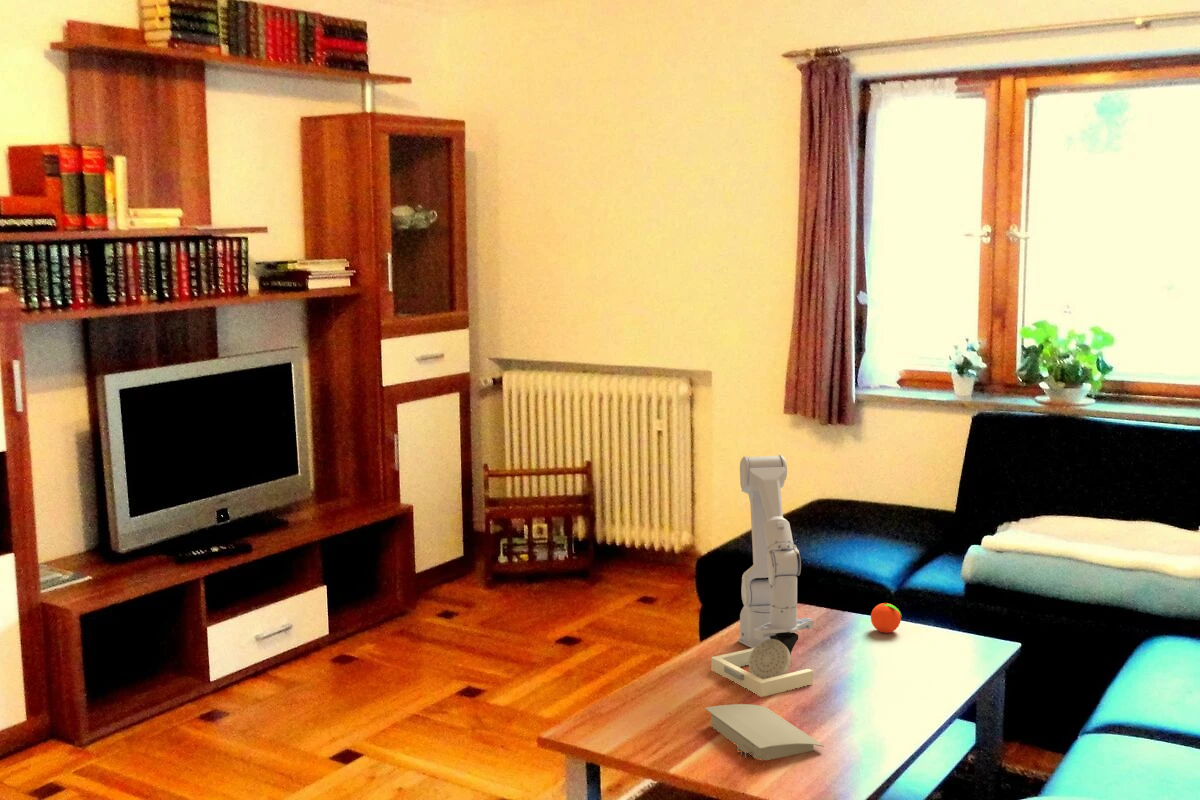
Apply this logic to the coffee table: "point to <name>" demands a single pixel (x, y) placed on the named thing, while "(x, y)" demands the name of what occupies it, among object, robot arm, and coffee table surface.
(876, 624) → the clementine
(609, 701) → the coffee table surface
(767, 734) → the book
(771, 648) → the showerhead
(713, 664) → the dock
